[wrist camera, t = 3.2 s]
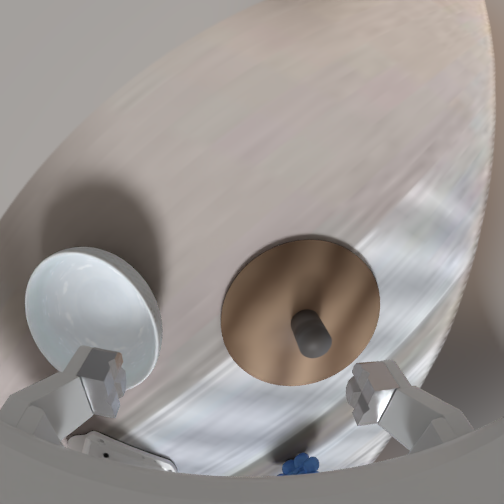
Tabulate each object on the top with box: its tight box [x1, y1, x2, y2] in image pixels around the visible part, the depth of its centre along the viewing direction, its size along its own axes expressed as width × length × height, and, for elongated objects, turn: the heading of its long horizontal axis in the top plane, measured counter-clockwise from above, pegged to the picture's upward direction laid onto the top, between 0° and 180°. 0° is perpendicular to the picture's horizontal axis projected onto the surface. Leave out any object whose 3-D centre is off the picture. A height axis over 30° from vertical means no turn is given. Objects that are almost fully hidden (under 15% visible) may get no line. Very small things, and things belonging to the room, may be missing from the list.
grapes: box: [277, 453, 319, 476], centre depth 37 cm, size 12×7×12 cm, turn 141°
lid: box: [221, 240, 380, 386], centre depth 33 cm, size 20×20×6 cm
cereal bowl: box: [25, 247, 162, 390], centre depth 30 cm, size 17×17×7 cm
